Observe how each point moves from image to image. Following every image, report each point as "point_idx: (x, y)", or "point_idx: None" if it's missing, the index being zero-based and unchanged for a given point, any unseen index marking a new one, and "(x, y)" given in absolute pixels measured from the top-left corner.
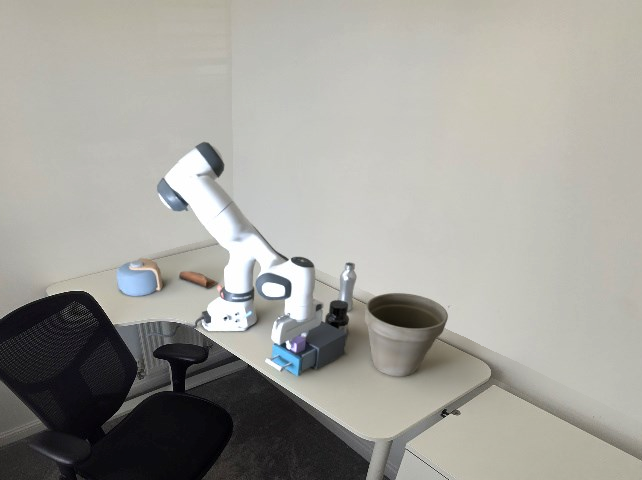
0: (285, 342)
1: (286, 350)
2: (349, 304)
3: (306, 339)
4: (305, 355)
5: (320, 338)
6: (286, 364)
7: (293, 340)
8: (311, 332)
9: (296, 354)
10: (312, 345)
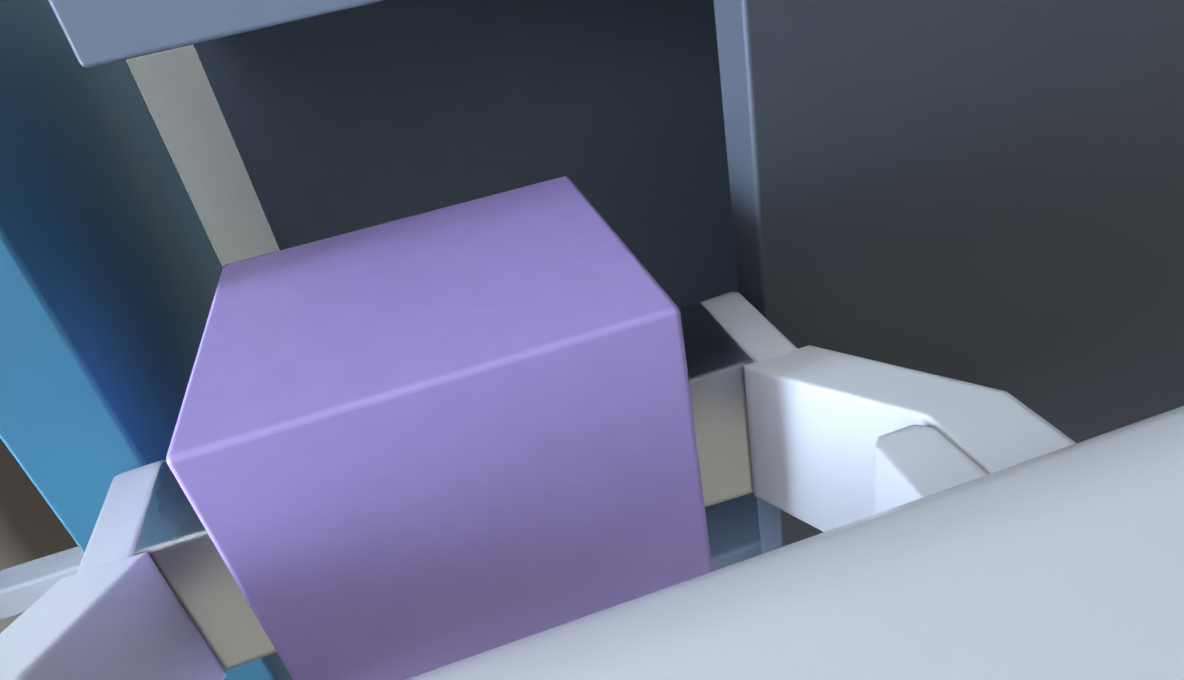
0: (304, 15)
1: (106, 480)
2: None
3: (833, 336)
4: None
5: (1072, 411)
6: (50, 582)
7: (347, 613)
8: (1171, 92)
9: (545, 86)
10: (771, 545)
